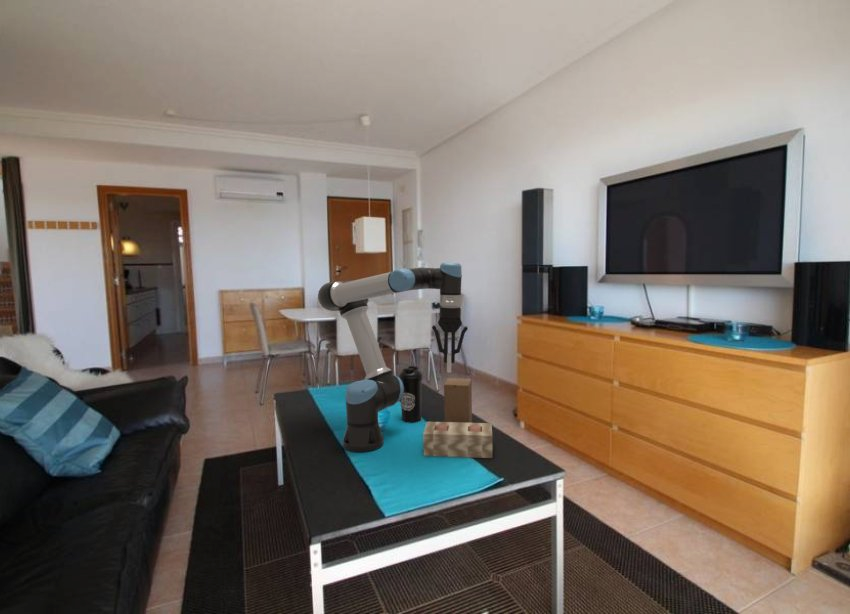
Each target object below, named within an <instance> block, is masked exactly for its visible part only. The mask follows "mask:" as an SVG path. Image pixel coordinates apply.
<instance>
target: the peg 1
mask: <svg viewBox="0 0 850 614" xmlns="http://www.w3.org/2000/svg"><path fill="white" fill-rule="evenodd" d="M436 430H440V431H447V425H445V424H438V425H436Z"/></svg>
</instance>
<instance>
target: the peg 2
mask: <svg viewBox="0 0 850 614" xmlns="http://www.w3.org/2000/svg"><path fill="white" fill-rule="evenodd" d="M469 431H476V432H481V427H480V426H479V425H471V426H469Z"/></svg>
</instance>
